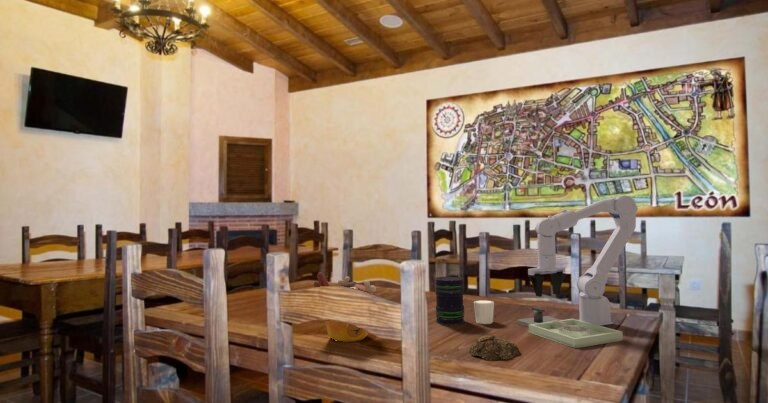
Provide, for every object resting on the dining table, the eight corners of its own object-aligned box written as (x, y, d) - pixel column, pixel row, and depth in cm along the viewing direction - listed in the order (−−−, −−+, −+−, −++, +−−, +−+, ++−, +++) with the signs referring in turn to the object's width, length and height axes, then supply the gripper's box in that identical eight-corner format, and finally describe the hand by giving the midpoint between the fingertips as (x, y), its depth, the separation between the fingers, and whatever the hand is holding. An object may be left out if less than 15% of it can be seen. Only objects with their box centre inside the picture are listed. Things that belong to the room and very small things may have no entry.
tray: (573, 326, 155) (572, 318, 155) (622, 340, 137) (622, 331, 137) (528, 332, 148) (528, 324, 148) (575, 348, 130) (574, 339, 130)
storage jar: (463, 318, 169) (462, 276, 169) (465, 325, 159) (464, 280, 159) (435, 318, 170) (434, 276, 170) (435, 324, 160) (434, 280, 160)
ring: (597, 335, 140) (597, 327, 140) (574, 339, 136) (574, 330, 136) (565, 326, 152) (565, 318, 152) (543, 329, 148) (543, 321, 148)
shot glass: (494, 324, 159) (494, 303, 159) (474, 324, 160) (473, 303, 160) (494, 320, 165) (493, 300, 165) (474, 319, 167) (473, 299, 167)
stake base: (547, 319, 165) (546, 303, 165) (570, 326, 155) (570, 308, 155) (516, 323, 160) (516, 306, 160) (539, 330, 150) (538, 312, 150)
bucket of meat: (384, 332, 151) (383, 269, 151) (370, 346, 135) (369, 276, 135) (326, 329, 156) (325, 268, 156) (305, 343, 140) (304, 275, 140)
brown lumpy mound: (483, 345, 136) (482, 327, 136) (524, 352, 128) (523, 334, 128) (460, 356, 126) (459, 337, 126) (503, 364, 118) (503, 344, 118)
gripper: (554, 252, 166) (555, 291, 166) (521, 254, 160) (522, 295, 160) (569, 254, 160) (570, 294, 159) (536, 256, 154) (537, 298, 154)
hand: (547, 295), depth 159 cm, fingers open, 7 cm apart
